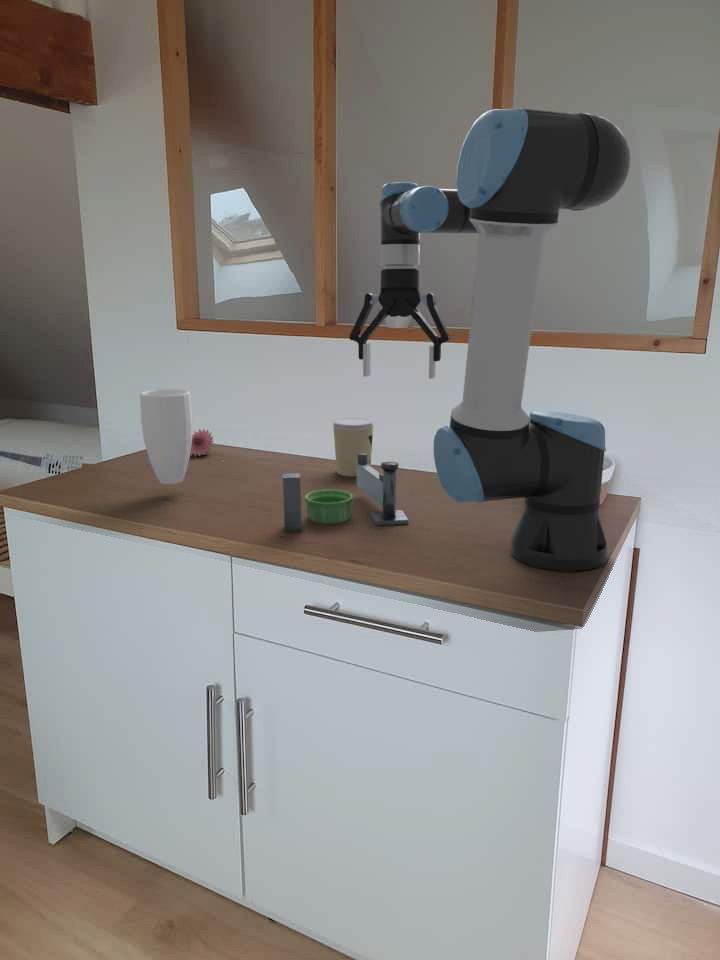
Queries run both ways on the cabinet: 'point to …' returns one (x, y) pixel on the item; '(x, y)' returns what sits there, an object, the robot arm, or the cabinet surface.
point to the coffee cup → (352, 443)
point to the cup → (167, 432)
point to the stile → (292, 502)
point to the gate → (369, 479)
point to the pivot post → (389, 498)
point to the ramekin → (329, 506)
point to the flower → (201, 443)
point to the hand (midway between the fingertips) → (399, 377)
